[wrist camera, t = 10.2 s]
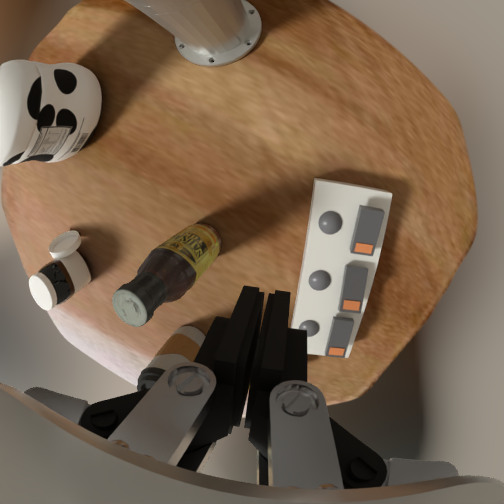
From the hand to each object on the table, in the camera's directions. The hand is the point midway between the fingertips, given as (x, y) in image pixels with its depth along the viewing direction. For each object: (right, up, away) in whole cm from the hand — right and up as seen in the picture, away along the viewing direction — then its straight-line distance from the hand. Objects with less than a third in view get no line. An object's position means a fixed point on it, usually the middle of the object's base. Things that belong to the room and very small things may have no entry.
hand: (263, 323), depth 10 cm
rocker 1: (+12, -10, +28) cm, 32 cm away
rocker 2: (+14, +5, +22) cm, 26 cm away
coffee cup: (-11, -13, +39) cm, 42 cm away
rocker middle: (+13, -2, +25) cm, 28 cm away
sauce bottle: (-8, +4, +31) cm, 33 cm away
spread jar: (-35, +1, +37) cm, 51 cm away
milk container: (-32, +27, +27) cm, 50 cm away
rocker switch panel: (+12, 0, +30) cm, 32 cm away
